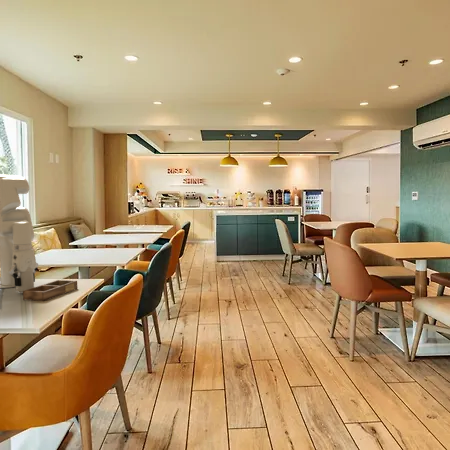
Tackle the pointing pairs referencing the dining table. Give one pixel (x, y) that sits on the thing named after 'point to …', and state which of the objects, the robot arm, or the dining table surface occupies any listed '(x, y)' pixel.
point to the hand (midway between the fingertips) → (25, 283)
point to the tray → (49, 290)
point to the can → (26, 280)
